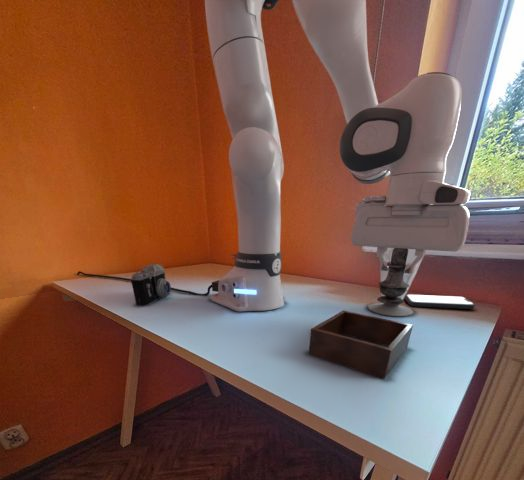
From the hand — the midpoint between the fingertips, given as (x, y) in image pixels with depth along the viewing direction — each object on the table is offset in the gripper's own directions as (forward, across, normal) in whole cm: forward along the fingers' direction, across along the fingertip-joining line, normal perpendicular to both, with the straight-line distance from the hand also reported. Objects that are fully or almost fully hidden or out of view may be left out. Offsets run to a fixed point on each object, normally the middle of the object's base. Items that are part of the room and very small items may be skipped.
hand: (396, 271), depth 56 cm
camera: (+12, -61, -19) cm, 65 cm away
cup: (+13, -3, +15) cm, 20 cm away
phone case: (+13, +6, +29) cm, 32 cm away
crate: (+12, 0, -15) cm, 20 cm away
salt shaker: (+6, 0, 0) cm, 6 cm away
